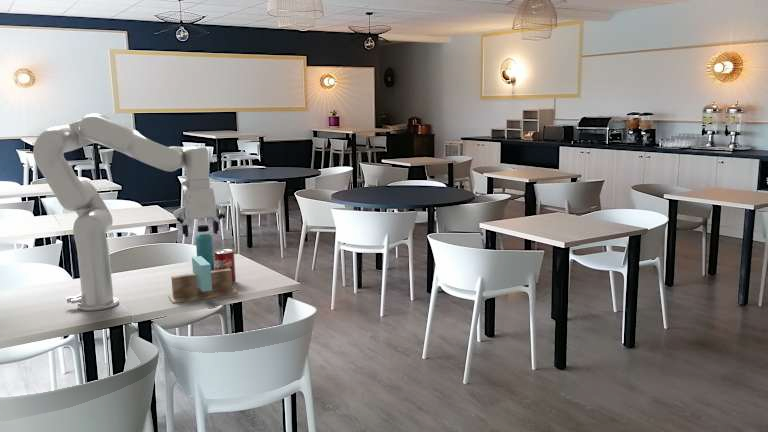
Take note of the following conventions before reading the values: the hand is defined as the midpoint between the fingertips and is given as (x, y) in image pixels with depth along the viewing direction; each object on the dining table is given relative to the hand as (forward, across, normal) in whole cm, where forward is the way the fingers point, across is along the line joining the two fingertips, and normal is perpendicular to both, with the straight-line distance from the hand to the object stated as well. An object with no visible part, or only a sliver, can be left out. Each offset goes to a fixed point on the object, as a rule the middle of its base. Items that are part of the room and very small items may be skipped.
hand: (201, 234), depth 222 cm
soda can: (+22, +11, +16) cm, 30 cm away
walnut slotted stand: (+22, 0, +4) cm, 23 cm away
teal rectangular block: (+19, 0, +4) cm, 19 cm away
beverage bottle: (+22, +7, +29) cm, 37 cm away
